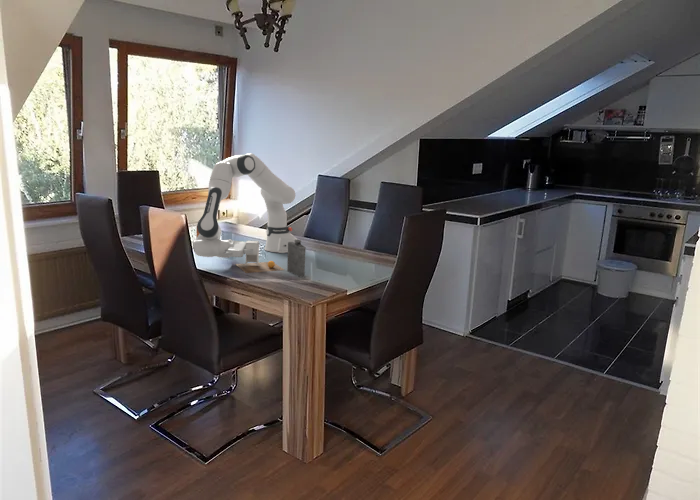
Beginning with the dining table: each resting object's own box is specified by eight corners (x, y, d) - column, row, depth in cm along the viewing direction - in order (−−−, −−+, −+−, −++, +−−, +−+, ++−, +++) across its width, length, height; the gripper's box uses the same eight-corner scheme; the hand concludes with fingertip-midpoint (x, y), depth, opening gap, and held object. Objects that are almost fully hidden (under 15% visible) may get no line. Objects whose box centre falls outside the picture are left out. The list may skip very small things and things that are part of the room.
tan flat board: (272, 263, 287) (272, 261, 287) (284, 272, 272) (284, 269, 272) (235, 266, 278) (235, 264, 278) (245, 275, 262) (245, 273, 262)
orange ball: (273, 266, 277) (273, 259, 276) (275, 268, 274) (275, 261, 273) (266, 267, 275) (266, 260, 274) (268, 268, 272) (269, 261, 271)
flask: (292, 272, 273) (293, 237, 269) (306, 279, 262) (308, 242, 258) (286, 272, 271) (287, 237, 267) (300, 280, 260) (301, 243, 256)
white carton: (246, 261, 278) (247, 240, 276) (258, 262, 279) (259, 241, 276) (245, 264, 272) (245, 243, 270) (257, 264, 273) (257, 243, 270)
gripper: (223, 247, 262) (252, 248, 263) (229, 238, 282) (256, 239, 283) (223, 259, 263) (251, 260, 265) (229, 250, 283) (255, 251, 284)
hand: (254, 249), depth 274 cm, fingers closed on white carton, 6 cm apart
